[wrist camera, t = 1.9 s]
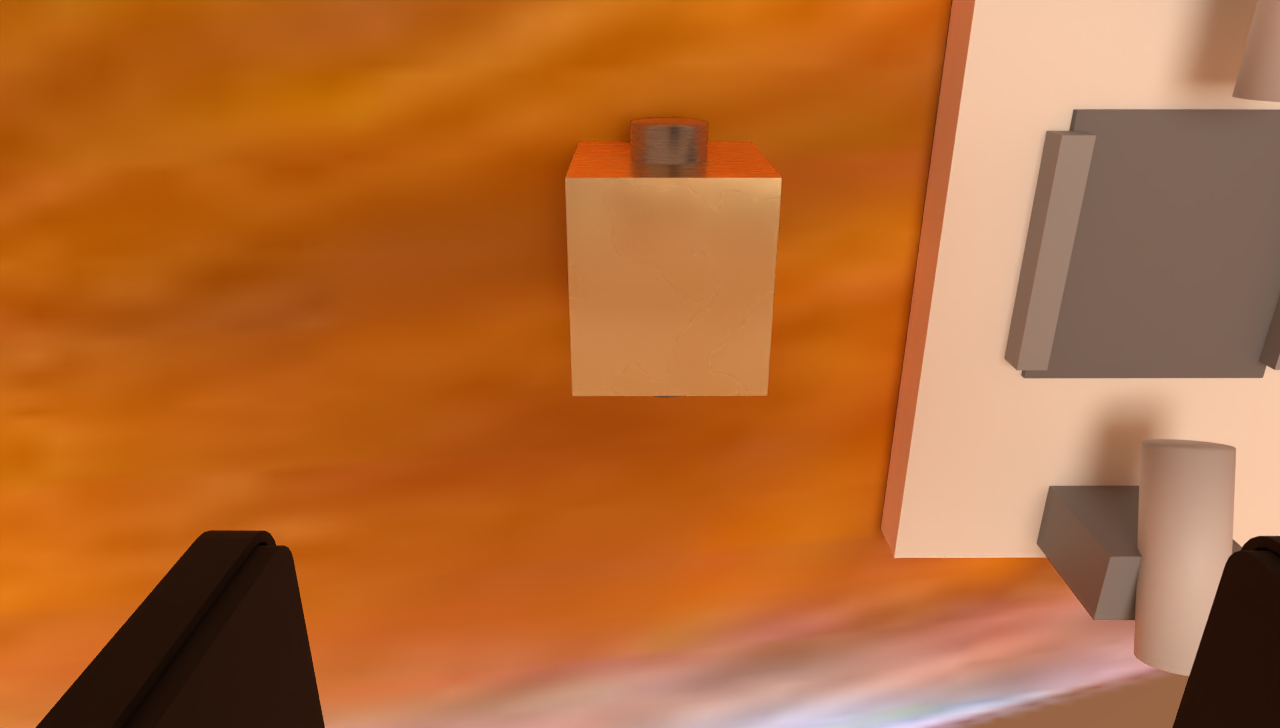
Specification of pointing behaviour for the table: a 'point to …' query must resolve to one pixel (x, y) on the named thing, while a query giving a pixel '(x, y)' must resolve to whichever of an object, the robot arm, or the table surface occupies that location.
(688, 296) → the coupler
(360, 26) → the table surface
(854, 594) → the table surface
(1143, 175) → the shaft frame
